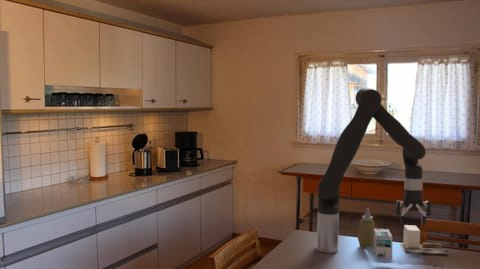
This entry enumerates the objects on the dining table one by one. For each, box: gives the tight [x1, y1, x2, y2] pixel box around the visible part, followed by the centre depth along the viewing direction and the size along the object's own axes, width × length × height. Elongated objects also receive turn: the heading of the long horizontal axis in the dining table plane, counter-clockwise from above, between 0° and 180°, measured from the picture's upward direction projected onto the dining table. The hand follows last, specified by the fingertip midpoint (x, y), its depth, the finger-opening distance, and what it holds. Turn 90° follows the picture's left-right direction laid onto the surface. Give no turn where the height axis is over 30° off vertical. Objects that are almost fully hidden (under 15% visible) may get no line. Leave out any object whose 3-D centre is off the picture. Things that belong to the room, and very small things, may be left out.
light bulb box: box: [373, 227, 393, 259], centre depth 186 cm, size 11×7×11 cm, turn 168°
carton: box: [402, 224, 421, 248], centre depth 193 cm, size 5×8×9 cm, turn 172°
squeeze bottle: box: [357, 207, 376, 250], centre depth 198 cm, size 8×8×18 cm
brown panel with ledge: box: [399, 242, 448, 255], centre depth 192 cm, size 17×12×4 cm
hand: (412, 224), depth 192 cm, fingers open, 8 cm apart
